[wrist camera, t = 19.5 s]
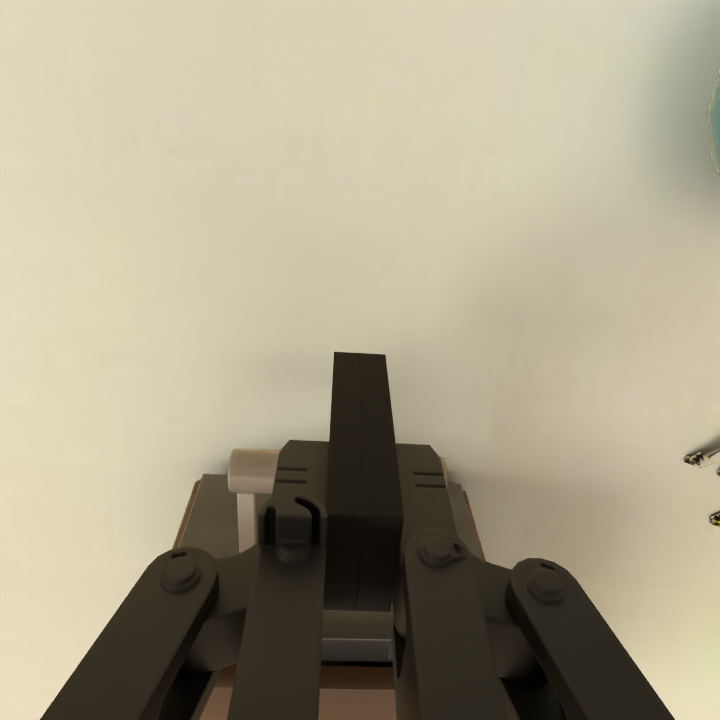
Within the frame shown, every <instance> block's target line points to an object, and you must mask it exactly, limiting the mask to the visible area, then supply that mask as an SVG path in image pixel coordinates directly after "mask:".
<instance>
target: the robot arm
mask: <svg viewBox="0 0 720 720" xmlns="http://www.w3.org/2000/svg"><path fill="white" fill-rule="evenodd" d="M391 604H392V605H393V618H394V620H393V627H392V634H391V640H390V647H389V654H388V659H389V660H393V673H394V688H395V703H396V718H397V720H675V719H674V718H673V716H672V715H671V713H670V712H669V711H668V709H667V708H666V706H665V705H664V703H663V702H662V701H661V699H660V698H659V696H658V695H657V694H656V692H655V691H654V689H653V688H652V686H651V685H650V684H649V682H648V681H647V679H646V678H645V677H644V675H643V674H642V672H641V671H640V669H639V668H638V667H637V665H636V664H635V662H634V661H633V660H632V658H631V657H630V655H629V654H628V652H627V651H626V650H625V648H624V647H623V645H622V644H621V643H620V641H619V640H618V638H617V637H616V635H615V634H614V633H613V631H612V630H611V628H610V627H609V626H608V624H607V623H606V621H605V620H604V618H603V617H602V616H601V614H600V613H599V611H598V610H597V609H596V607H595V606H594V604H593V603H592V601H591V600H590V599H589V597H588V596H587V594H586V593H585V592H584V590H583V589H582V587H581V586H580V584H579V583H578V582H577V580H576V579H575V578H574V577H573V576H572V575H571V574H570V573H569V572H568V571H567V570H566V569H564V568H563V567H561V566H559V565H558V564H556V563H554V562H551V561H548V560H544V559H541V558H528V559H526V560H523V561H520V562H518V563H517V564H516V566H515V567H514V568H513V569H512V570H510V569H507V568H504V567H501V566H497V565H494V564H491V563H489V562H486V561H484V560H481V559H479V558H478V557H476V556H475V555H473V554H472V553H471V552H470V551H468V549H467V547H466V545H465V543H464V542H463V541H462V540H461V539H459V537H458V534H457V531H456V526H455V522H454V517H453V513H452V508H451V504H450V499H449V495H448V490H447V489H446V481H445V477H444V472H443V468H442V463H441V459H440V457H439V456H438V455H437V454H436V452H435V451H434V450H433V449H432V448H431V446H430V445H416V444H395V435H394V426H393V418H392V409H391V400H390V392H389V383H388V374H387V365H386V357H385V355H382V354H364V353H345V352H334V366H333V385H332V403H331V422H330V440H329V442H323V441H302V440H289V441H288V443H287V444H286V445H285V446H284V447H283V449H282V450H281V451H280V452H279V456H278V462H277V469H276V473H275V479H274V485H273V490H272V496H271V499H269V500H268V501H267V502H266V503H265V504H263V505H262V507H261V509H260V511H259V513H258V542H257V543H255V544H254V545H253V546H252V547H251V548H249V549H247V550H245V551H243V552H241V553H238V554H235V555H232V556H228V557H223V558H219V559H214V558H213V557H212V556H211V554H210V553H209V552H207V551H204V550H202V549H200V548H196V547H181V548H176V549H172V550H169V551H167V552H165V553H164V554H162V555H160V556H158V557H157V558H156V559H155V560H154V561H153V562H152V563H151V564H150V565H149V566H148V567H147V569H146V570H145V571H144V573H143V574H142V576H141V577H140V578H139V580H138V581H137V583H136V584H135V586H134V587H133V588H132V590H131V591H130V593H129V594H128V596H127V597H126V598H125V600H124V601H123V603H122V604H121V605H120V607H119V608H118V610H117V611H116V613H115V614H114V615H113V617H112V618H111V620H110V621H109V622H108V624H107V625H106V627H105V628H104V630H103V631H102V632H101V634H100V635H99V637H98V638H97V639H96V641H95V642H94V644H93V645H92V647H91V648H90V649H89V651H88V652H87V654H86V655H85V657H84V658H83V659H82V661H81V662H80V664H79V665H78V666H77V668H76V669H75V671H74V672H73V674H72V675H71V676H70V678H69V679H68V681H67V682H66V683H65V685H64V686H63V688H62V689H61V691H60V692H59V693H58V695H57V696H56V698H55V699H54V701H53V702H52V703H51V705H50V706H49V708H48V709H47V710H46V712H45V713H44V715H43V716H42V718H41V719H40V720H199V719H200V717H201V715H202V713H203V711H204V708H205V706H206V704H207V702H208V700H209V698H210V695H211V693H212V691H213V689H214V687H215V685H216V682H217V680H218V678H219V676H220V674H221V672H222V668H224V667H228V666H231V665H234V664H237V667H236V672H235V678H234V683H233V689H232V694H231V700H230V705H229V711H228V716H227V720H318V717H319V695H320V673H321V651H322V629H323V610H343V611H373V612H390V611H391Z"/></svg>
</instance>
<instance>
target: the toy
mask: <svg viewBox="0 0 720 720" xmlns="http://www.w3.org/2000/svg"><path fill="white" fill-rule="evenodd" d="M719 459H720V450H718V451H716V452H714V453H712V454H711V455H709V456H705V455H704V454H702V453H700V452H699V453H697V454H696V455H694V456H692V457H689V456H686V459H685V461H684V462H686V463H688V464H691V465H694V466H696V467H699V468H702V467H703V466H705V467H707V466H709V465H711V464H713V463H714V462H716V461H718V460H719ZM717 474H718V476H719V477H720V470H718V473H717ZM710 519H711V521H710V523H711V524H712V525H715V526H718V527H720V513H719V514H717V515H713V516H712V517H710Z"/></svg>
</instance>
